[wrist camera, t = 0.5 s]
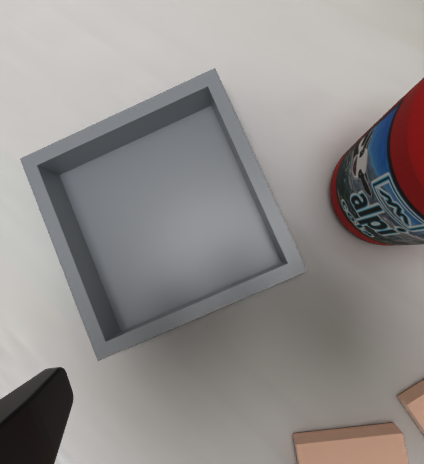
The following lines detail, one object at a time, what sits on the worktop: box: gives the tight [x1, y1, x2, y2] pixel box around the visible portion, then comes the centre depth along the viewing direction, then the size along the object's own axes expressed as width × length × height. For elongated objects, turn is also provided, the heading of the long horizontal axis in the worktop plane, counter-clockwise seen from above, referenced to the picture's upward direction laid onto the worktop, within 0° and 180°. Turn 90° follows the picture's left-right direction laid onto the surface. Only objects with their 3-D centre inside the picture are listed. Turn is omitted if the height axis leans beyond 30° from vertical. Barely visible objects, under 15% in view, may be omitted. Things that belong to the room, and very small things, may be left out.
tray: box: [20, 68, 308, 361], centre depth 21 cm, size 13×13×3 cm
